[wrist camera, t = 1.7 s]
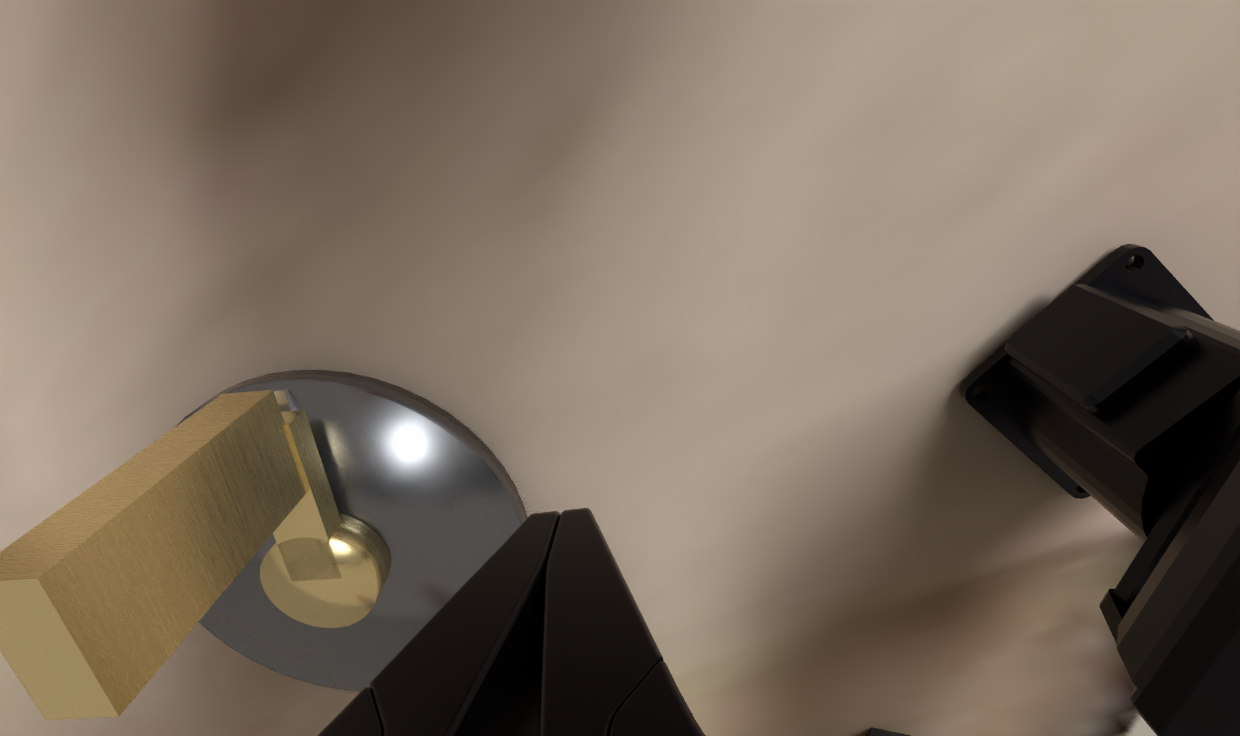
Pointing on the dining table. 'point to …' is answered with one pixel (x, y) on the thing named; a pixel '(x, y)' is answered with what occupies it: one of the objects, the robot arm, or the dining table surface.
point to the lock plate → (376, 523)
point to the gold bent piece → (179, 555)
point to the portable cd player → (883, 733)
